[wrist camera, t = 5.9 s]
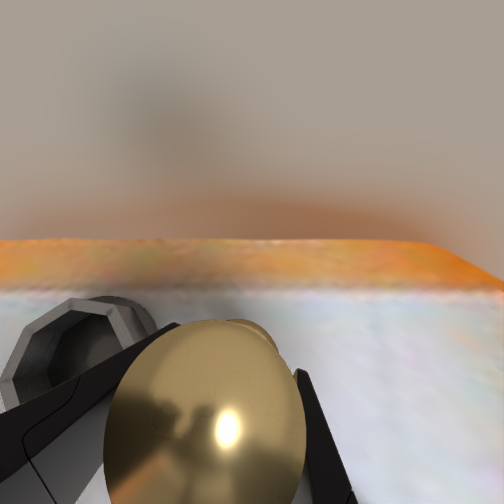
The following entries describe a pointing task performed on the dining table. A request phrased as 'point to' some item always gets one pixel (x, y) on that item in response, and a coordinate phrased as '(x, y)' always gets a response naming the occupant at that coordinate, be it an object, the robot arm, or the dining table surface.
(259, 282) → the dining table surface
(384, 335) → the dining table surface
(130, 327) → the collar fitting
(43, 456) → the robot arm
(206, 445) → the gold bulb-shaped piece
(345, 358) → the dining table surface
